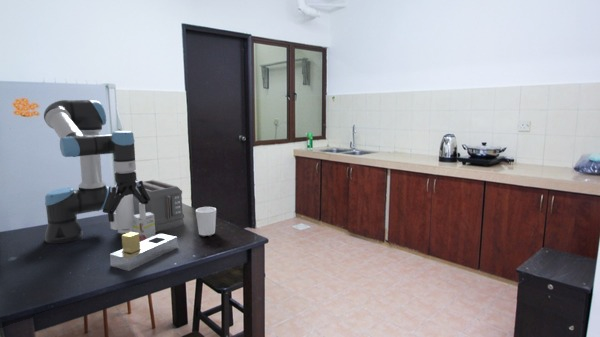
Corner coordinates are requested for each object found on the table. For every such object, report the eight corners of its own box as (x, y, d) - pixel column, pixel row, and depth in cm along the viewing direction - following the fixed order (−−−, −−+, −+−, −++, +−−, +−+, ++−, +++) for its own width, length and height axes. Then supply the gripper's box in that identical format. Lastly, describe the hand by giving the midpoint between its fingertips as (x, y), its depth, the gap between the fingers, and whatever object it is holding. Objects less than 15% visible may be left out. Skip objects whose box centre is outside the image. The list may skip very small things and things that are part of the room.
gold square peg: (123, 263, 148) (121, 235, 146) (133, 259, 152) (131, 231, 150) (132, 265, 146) (129, 236, 144) (141, 261, 150) (139, 233, 148)
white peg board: (110, 266, 146) (109, 254, 145) (160, 243, 169) (160, 233, 168) (128, 270, 142) (127, 258, 141) (177, 247, 165) (177, 236, 164)
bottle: (139, 229, 189) (135, 175, 184) (125, 234, 181) (121, 178, 176) (127, 227, 192) (123, 174, 187) (114, 232, 185) (109, 176, 180)
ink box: (138, 242, 171) (136, 217, 169) (133, 239, 175) (131, 215, 173) (156, 237, 177) (154, 213, 175) (151, 235, 181) (150, 211, 179)
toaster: (154, 233, 183) (152, 193, 179) (124, 219, 205) (121, 183, 201) (187, 224, 197) (186, 187, 193) (156, 212, 219) (153, 178, 215)
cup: (202, 239, 175) (201, 213, 173) (193, 234, 182) (191, 209, 180) (221, 234, 181) (220, 209, 179) (211, 229, 188) (210, 205, 186)
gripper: (103, 178, 130) (107, 235, 134) (157, 167, 152) (160, 216, 156) (88, 176, 133) (93, 232, 137) (144, 165, 155) (147, 214, 159)
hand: (129, 224), depth 147 cm, fingers open, 13 cm apart
